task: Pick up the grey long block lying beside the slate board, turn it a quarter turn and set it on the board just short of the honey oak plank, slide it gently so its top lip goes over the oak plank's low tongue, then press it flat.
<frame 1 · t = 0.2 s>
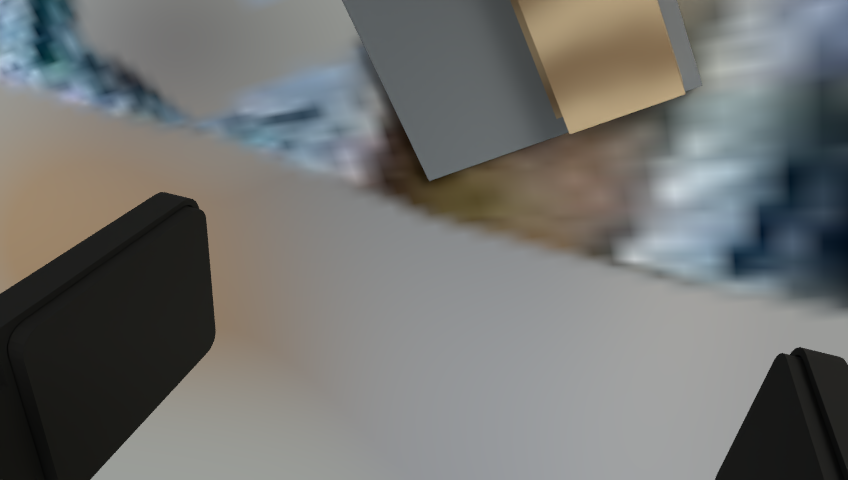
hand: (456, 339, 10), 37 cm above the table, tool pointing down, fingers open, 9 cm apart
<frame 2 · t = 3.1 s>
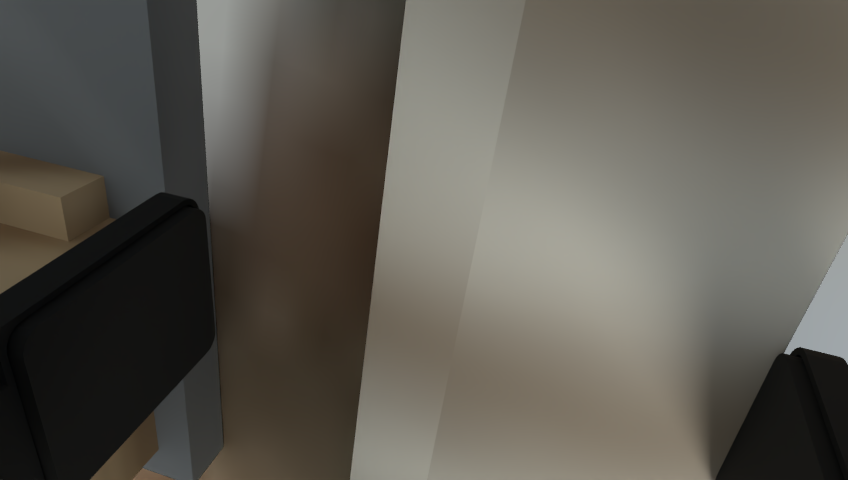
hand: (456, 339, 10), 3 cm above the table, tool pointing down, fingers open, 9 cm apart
grey long block: (561, 278, 14), on the table, touching gripper
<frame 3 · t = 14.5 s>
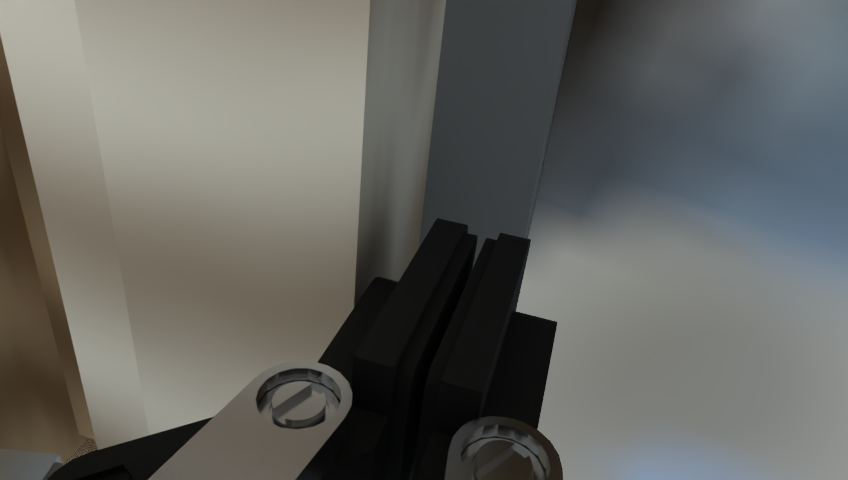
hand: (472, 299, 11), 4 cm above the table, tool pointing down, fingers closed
grey long block: (296, 190, 15), point 2 cm above the table, touching gripper, slate board
slate board: (155, 126, 17), on the table
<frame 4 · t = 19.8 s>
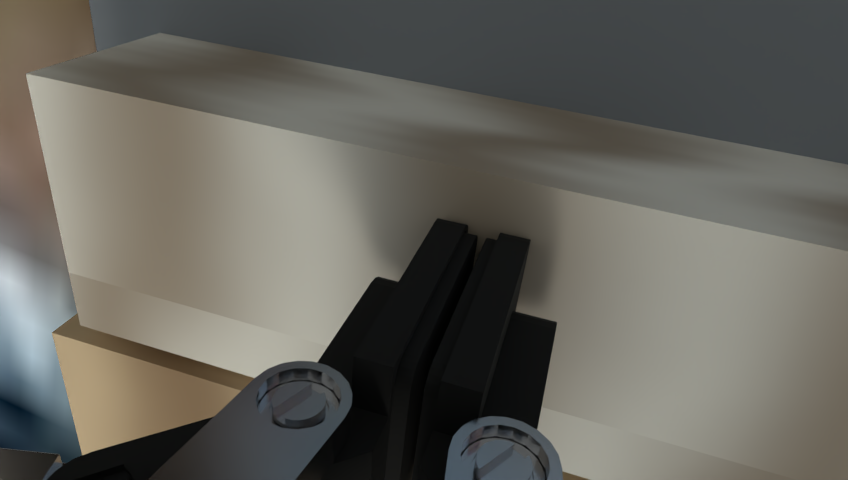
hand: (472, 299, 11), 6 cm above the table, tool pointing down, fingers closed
oak plank: (479, 399, 20), resting on slate board
grey long block: (505, 225, 15), point 1 cm above the table, touching gripper, slate board
slate board: (509, 250, 17), on the table
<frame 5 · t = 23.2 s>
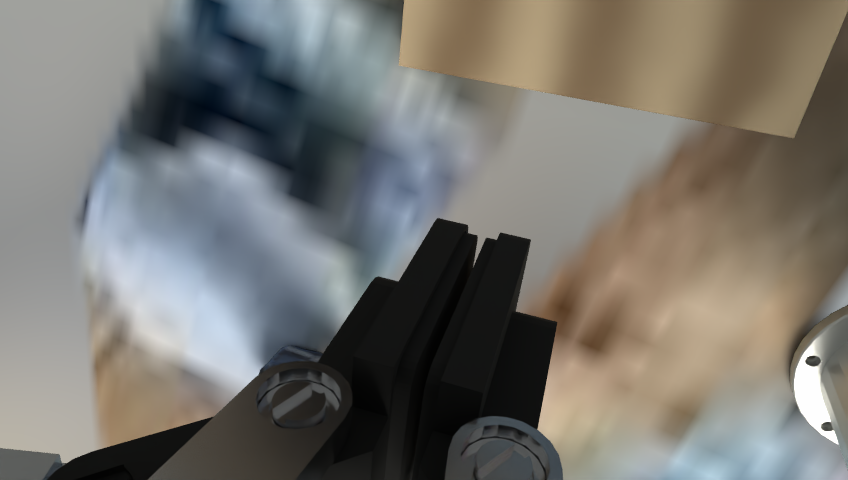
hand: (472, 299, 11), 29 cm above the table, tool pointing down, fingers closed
oak plank: (606, 10, 35), resting on slate board
impact wrench: (316, 376, 56), on the table
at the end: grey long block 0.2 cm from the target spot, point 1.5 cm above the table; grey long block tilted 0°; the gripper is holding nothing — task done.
